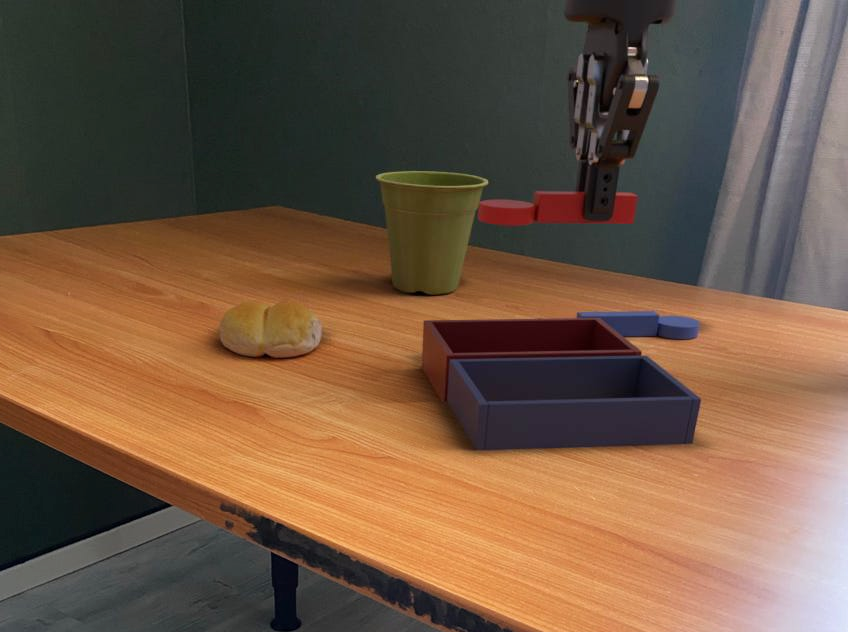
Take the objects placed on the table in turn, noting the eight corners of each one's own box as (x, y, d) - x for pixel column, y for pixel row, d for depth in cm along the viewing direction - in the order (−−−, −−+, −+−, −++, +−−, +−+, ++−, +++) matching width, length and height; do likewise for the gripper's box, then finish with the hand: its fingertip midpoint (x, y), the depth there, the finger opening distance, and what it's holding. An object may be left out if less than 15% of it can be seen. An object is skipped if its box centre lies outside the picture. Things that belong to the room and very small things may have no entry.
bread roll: (234, 332, 93) (232, 288, 91) (327, 338, 92) (327, 294, 90) (206, 356, 87) (203, 309, 84) (306, 363, 85) (306, 316, 83)
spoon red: (620, 217, 78) (625, 189, 77) (639, 227, 74) (644, 198, 73) (472, 215, 76) (474, 187, 75) (484, 225, 73) (487, 195, 72)
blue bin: (638, 406, 77) (647, 355, 75) (690, 455, 68) (701, 398, 66) (446, 411, 75) (449, 359, 73) (475, 462, 67) (479, 404, 65)
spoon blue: (583, 341, 93) (586, 319, 92) (570, 329, 96) (572, 308, 95) (704, 339, 94) (709, 317, 93) (687, 327, 98) (691, 306, 96)
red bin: (593, 364, 86) (599, 317, 84) (634, 402, 78) (642, 351, 76) (421, 367, 85) (423, 320, 83) (443, 407, 76) (446, 355, 74)
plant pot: (446, 307, 103) (453, 189, 97) (352, 290, 109) (353, 178, 103) (499, 286, 111) (508, 176, 106) (409, 272, 117) (413, 167, 111)
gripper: (725, -66, 61) (673, 234, 70) (645, -52, 73) (610, 203, 82) (607, -70, 60) (570, 234, 69) (546, -56, 72) (521, 203, 81)
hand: (592, 216), depth 76 cm, fingers closed on spoon red, 1 cm apart
